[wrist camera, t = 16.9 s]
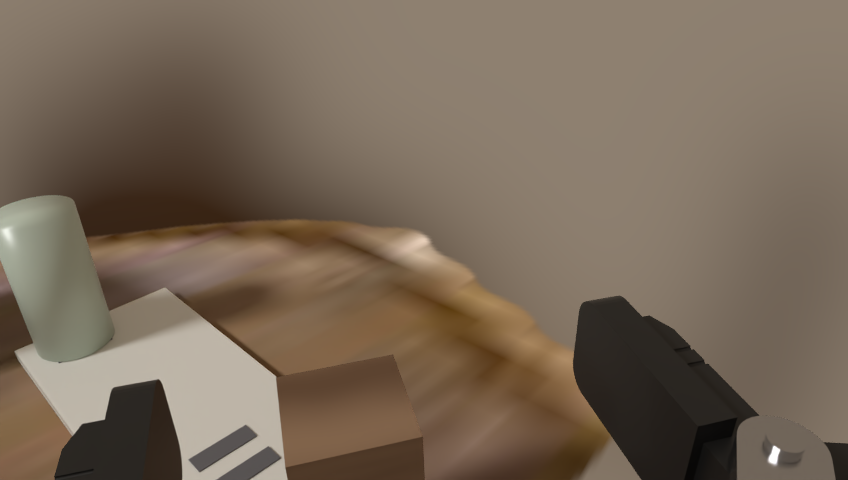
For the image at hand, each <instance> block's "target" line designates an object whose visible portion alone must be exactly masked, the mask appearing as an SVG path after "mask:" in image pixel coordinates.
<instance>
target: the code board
mask: <svg viewBox="0 0 848 480" xmlns="http://www.w3.org/2000/svg"><path fill="white" fill-rule="evenodd" d="M109 313H110V316H111V319H112V322H113V325H114V329H115V331H114V335H113V337H112V338H111V340H110V341H109V342H108V343H107V344H106V345H105V346H103V347H102V348H100V349H99V350H97V351H96V352H94V353H92V354H90V355H87V356H85V357H82V358H79V359H75V360H71V361H64V362H52V361H47V360H44V359H42V358H41V357H40V356H39V355H38V354H37V351H36V349H35V346H34V344H33V343H32V344H30V345H27V346H25V347H23V348H20V349H18V350H15V351H14V352H15V354H16V357H17V359H18V361H19V362H20V364H21V365H22V367H23V368H24V369H25V371H26V372H27V374H28V375H29V376H30V378H31V379H32V381H33V382H34V383H35V385H36V386H37V388H38V389H39V390H40V392H41V393H42V395H43V396H44V397H45V399H46V400H47V401H48V403H49V404H50V406H51V407H52V408H53V410H54V411H55V413H56V414H57V415H58V417H59V418H60V420H61V421H62V422H63V424H64V425H65V427H66V428H67V429H68V431H69V432H70V434H71V435H72V436H73V435H74V434H75V432H76V431H77V430H78V429H79V427H80V426H81V425H82V424H84V423H89V422H95V421H100V420H105V416H106V411H107V407H108V402H109V398H110V393H111V391H112V389H113V388H114V387H118V386H123V385H129V384H134V383H140V382H146V381H151V380H157V379H159V380H160V381H161V383H162V385H163V388H164V391H165V395H166V398H167V402H168V405H169V409H170V412H171V416H172V420H173V423H174V427H175V430H176V434H177V437H178V441H179V445H180V451H181V458H182V480H288V479H287V474H286V469H285V460H284V451H283V441H282V431H281V422H280V412H279V403H278V393H277V383H276V376H275V375H274V374H272V373H271V372H270V371H269V370H267V369H266V368H265V367H264V366H262V365H261V364H260V363H259V362H257V361H256V360H255V359H254V358H252V357H251V356H250V355H249V354H247V353H246V352H245V351H244V350H242V349H241V348H240V347H239V346H237V345H236V344H235V343H234V342H232V341H231V340H230V339H229V338H227V337H226V336H225V335H224V334H222V333H221V332H220V331H219V330H217V329H216V328H215V327H214V326H212V325H211V324H210V323H209V322H207V321H206V320H205V319H204V318H202V317H201V316H200V315H199V314H197V313H196V312H195V311H194V310H192V309H191V308H190V307H189V306H187V305H186V304H185V303H184V302H182V301H181V300H180V299H179V298H177V297H176V296H175V295H174V294H173V293H171V292H170V291H169V290H168V289H166V288H162V289H160V290H158V291H155V292H153V293H151V294H148V295H146V296H143V297H141V298H139V299H136V300H134V301H132V302H129V303H127V304H124V305H122V306H120V307H117V308H115V309H113V310H110V311H109Z"/></svg>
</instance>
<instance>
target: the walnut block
mask: <svg viewBox="0 0 848 480" xmlns="http://www.w3.org/2000/svg"><path fill="white" fill-rule="evenodd" d="M276 383H277V393H278V403H279V412H280V422H281V431H282V441H283V451H284V460H285V469H286V474H287V479H288V480H425V476H424V454H423V436H422V433H421V431H420V428H419V425H418V422H417V420H416V417H415V414H414V411H413V409H412V406H411V403H410V400H409V398H408V395H407V392H406V389H405V387H404V384H403V381H402V378H401V376H400V373H399V370H398V367H397V365H396V362H395V359H394V356H393V355H389V356H384V357H378V358H373V359H368V360H363V361H358V362H353V363H347V364H342V365H337V366H332V367H327V368H322V369H317V370H311V371H306V372H301V373H296V374H291V375H286V376H280V377H276Z"/></svg>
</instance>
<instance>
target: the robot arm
mask: <svg viewBox="0 0 848 480" xmlns="http://www.w3.org/2000/svg"><path fill="white" fill-rule="evenodd" d="M573 369H574V375H575V379H576V382H577V385H578V387H579V389H580V391H581V393H582V394H583V396H584V397H585V399H586V400H587V402H588V403H589V405H590V406H591V407H592V409H593V410H594V412H595V413H596V415H597V416H598V418H599V419H600V420H601V422H602V423H603V425H604V426H605V428H606V429H607V431H608V432H609V433H610V435H611V436H612V438H613V439H614V441H615V442H616V444H617V445H618V446H619V448H620V449H621V450H622V452H623V453H624V455H625V456H626V458H627V459H628V461H629V462H630V464H631V465H632V466H633V468H634V469H635V471H636V472H637V474H638V475H639V477H640V478H641V479H642V480H848V444H845V443H826V442H823V441H822V440H821V439H820V438H819V437H818V436H816V435H815V434H814V433H813V432H811V431H810V430H808V429H806V428H805V427H804V426H801V425H800V424H798V423H795V422H793V421H790V420H788V419H784V418H780V417H775V416H759V415H758V414H757V413H756V412H755V411H754V410H753V409H752V408H751V407H750V406H749V405H748V404H747V403H746V402H745V401H744V400H743V399H742V398H741V397H740V396H739V395H738V394H737V393H736V392H735V391H734V390H733V389H732V388H731V387H730V386H729V385H728V383H726V382H725V380H723V378H722V377H721V376H720V375H718V373H717V372H716V371H715V370H714V369H713V368H712V367H711V366H709V364H705V363H704V360H703V358H702V357H701V356H700V355H699V354H698V353H697V352H696V351H695V350H691V348H690V345H689V344H688V343H687V342H686V341H685V340H684V339H683V338H682V337H681V336H680V335H679V334H678V333H677V332H676V331H675V330H674V329H672V328H671V327H669V326H667V325H665V324H663V323H661V322H660V321H658V320H656V319H654V318H653V317H651V316H645V317H642V316H641V315H640V314H639V313H638V312H637V311H636V310H635V309H634V308H633V307H632V306H631V305H630V304H629V302H627V300H626V299H624V298H623V297H621V296H614V297H608V298H603V299H597V300H591V301H586V302H584V303H582V305H581V307H580V311H579V317H578V325H577V334H576V342H575V350H574V358H573ZM54 477H55V480H182V458H181V451H180V445H179V441H178V437H177V434H176V430H175V427H174V423H173V420H172V416H171V412H170V409H169V405H168V402H167V398H166V395H165V391H164V388H163V385H162V383H161V381H160V380H159V379H157V380H151V381H146V382H140V383H134V384H129V385H123V386H118V387H114V388H113V389H112V391H111V393H110V398H109V402H108V407H107V411H106V416H105V420H100V421H95V422H89V423H84V424H82V425H81V426H80V427H79V429H78V430H77V431H76V432H75V434H74V435H73V436H72V437H71V439H70V440H69V441H68V443H67V444H66V445H65V446H64V448H63V449H62V451H61V455H60V459H59V462H58V466H57V469H56V473H55V476H54Z"/></svg>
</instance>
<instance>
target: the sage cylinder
mask: <svg viewBox="0 0 848 480" xmlns="http://www.w3.org/2000/svg"><path fill="white" fill-rule="evenodd" d="M0 260H1V263H2V265H3V268H4V270H5V273H6V275H7V278H8V280H9V283H10V286H11V288H12V291H13V293H14V296H15V298H16V301H17V303H18V306H19V308H20V311H21V313H22V316H23V318H24V321H25V323H26V326H27V328H28V331H29V333H30V336H31V338H32V341H33V344H34V346H35V349H36V351H37V354H38V355H39V356H40V357H41V358H42V359H44V360H47V361H52V362H64V361H71V360H75V359H79V358H82V357H85V356H87V355H90V354H92V353H94V352H96V351H97V350H99V349H100V348H102V347H103V346H105V345H106V344H107V343H108V342H109V341H110V340H111V338H112V337H113V335H114V331H115V329H114V325H113V322H112V319H111V316H110V313H109V309H108V306H107V303H106V300H105V297H104V294H103V291H102V287H101V284H100V281H99V278H98V275H97V272H96V269H95V265H94V262H93V259H92V256H91V253H90V250H89V247H88V243H87V240H86V237H85V234H84V231H83V228H82V225H81V221H80V219H79V215H78V212H77V209H76V206H75V203H74V201H73V200H72V199H71V198H69V197H65V196H59V195H49V196H39V197H33V198H28V199H24V200H20V201H17V202H13V203H11V204H8V205H6V206H3V207H2V208H0Z"/></svg>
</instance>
